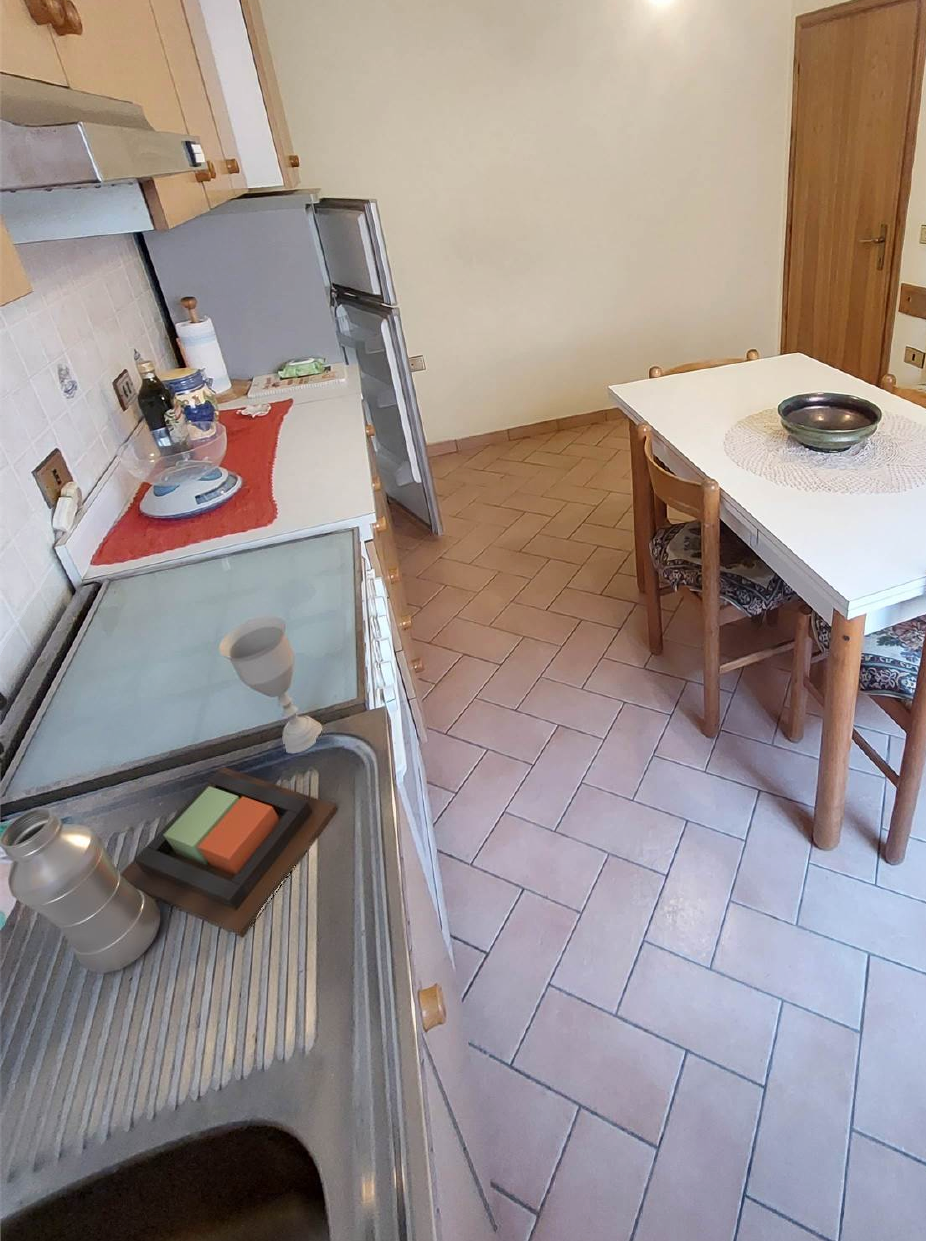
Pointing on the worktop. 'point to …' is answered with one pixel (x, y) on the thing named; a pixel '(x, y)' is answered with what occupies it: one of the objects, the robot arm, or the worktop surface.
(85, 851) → the metal milk can
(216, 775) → the back frame
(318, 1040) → the worktop surface
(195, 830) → the sage pad
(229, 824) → the terracotta pad
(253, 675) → the chalice
